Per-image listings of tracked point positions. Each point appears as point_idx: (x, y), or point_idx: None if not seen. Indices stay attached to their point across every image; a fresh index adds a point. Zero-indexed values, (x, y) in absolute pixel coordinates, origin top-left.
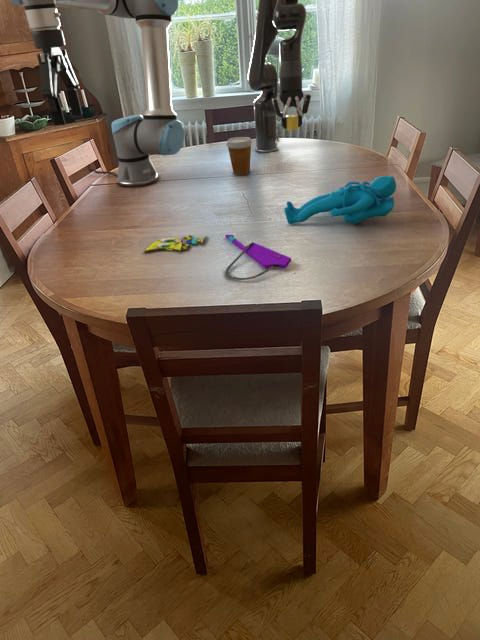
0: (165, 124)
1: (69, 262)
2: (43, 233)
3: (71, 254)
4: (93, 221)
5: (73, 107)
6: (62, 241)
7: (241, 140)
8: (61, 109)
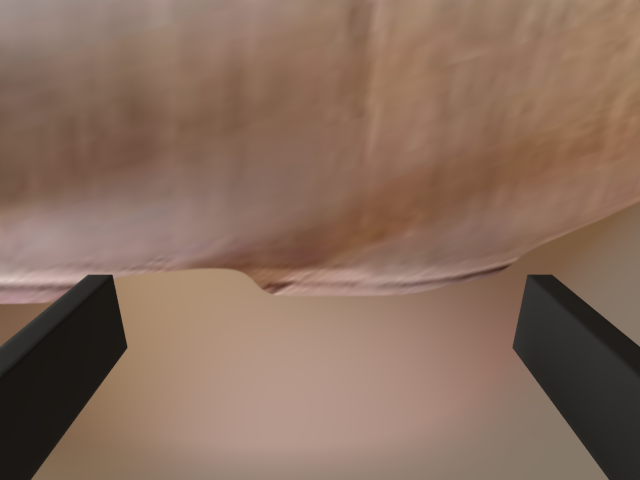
0: None
1: (572, 147)
2: (358, 285)
3: (521, 159)
4: (288, 173)
5: (88, 367)
6: (425, 215)
7: None
8: (618, 344)
